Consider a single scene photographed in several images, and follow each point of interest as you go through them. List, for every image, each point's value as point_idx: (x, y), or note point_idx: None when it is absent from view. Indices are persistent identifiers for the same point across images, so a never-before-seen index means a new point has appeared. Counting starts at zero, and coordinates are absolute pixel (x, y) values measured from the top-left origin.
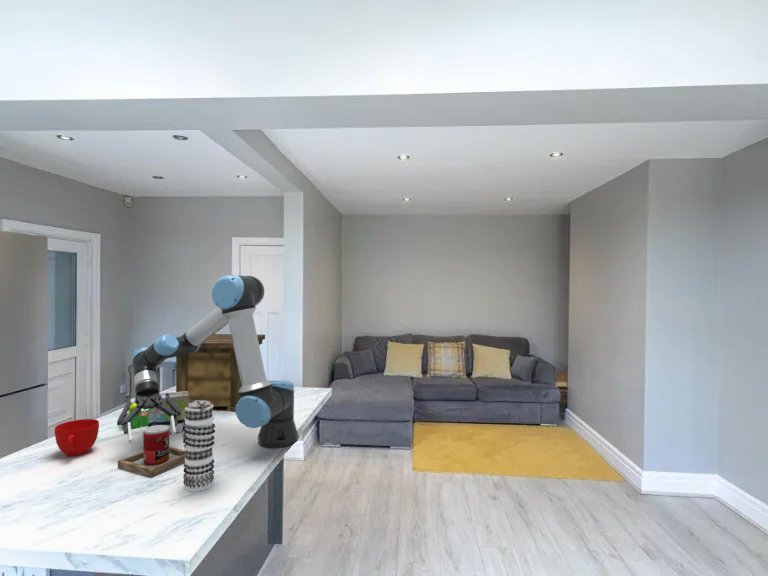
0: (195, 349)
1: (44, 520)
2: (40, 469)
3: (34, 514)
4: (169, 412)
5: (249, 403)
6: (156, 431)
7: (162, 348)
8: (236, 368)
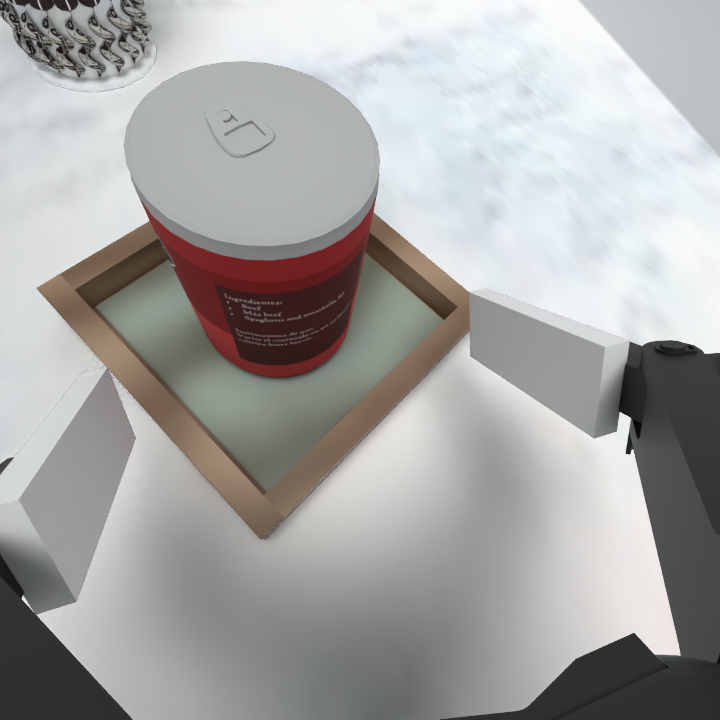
0: None
1: (542, 39)
2: None
3: (590, 74)
4: (3, 581)
5: None
6: (255, 109)
7: None
8: None
